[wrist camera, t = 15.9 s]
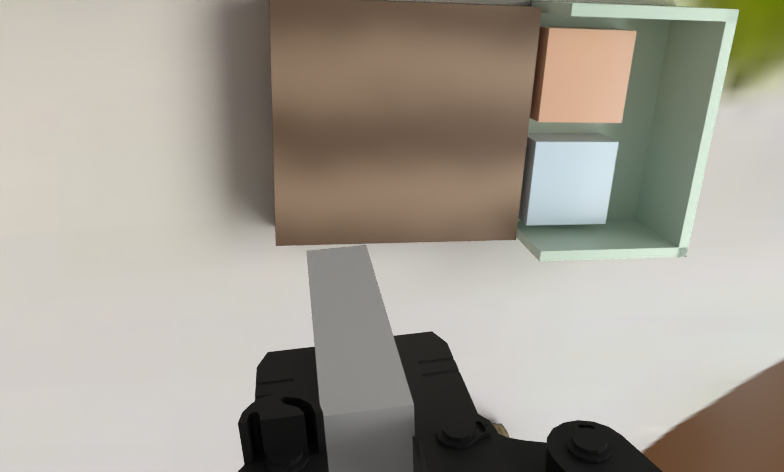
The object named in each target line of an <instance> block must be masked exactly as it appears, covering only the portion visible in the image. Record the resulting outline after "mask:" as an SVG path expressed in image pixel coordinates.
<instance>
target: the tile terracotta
mask: <svg viewBox="0 0 784 472" xmlns="http://www.w3.org/2000/svg"><path fill="white" fill-rule="evenodd" d="M636 33H637V31H634V30H626V29H618V28H596V27H567V26H540V30H539V39H538V48H537V57H536V66H535V75H534V83H533V92H532V101H531V110H530V118H531V119H533V120H535V121H537V122H574V123H622V118H623V112H624V106H625V100H626V94H627V88H628V82H629V76H630V70H631V64H632V58H633V51H634V45H635V39H636Z"/></svg>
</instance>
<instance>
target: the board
mask: <svg viewBox="0 0 784 472" xmlns="http://www.w3.org/2000/svg"><path fill="white" fill-rule="evenodd" d="M269 10H270V47H271V84H272V121H273V158H274V195H275V232H276V246H286V245H326V244H366V243H406V242H446V241H486V240H516V234H517V225H518V216H519V207H520V198H521V189H522V181H523V172H524V163H525V154H526V145H527V136H528V128H529V119H530V110H531V101H532V92H533V83H534V75H535V66H536V57H537V48H538V39H539V30H540V22H541V13H542V7H531V6H516V5H490V4H463V3H437V2H410V1H384V0H269Z"/></svg>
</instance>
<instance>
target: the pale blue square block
mask: <svg viewBox="0 0 784 472" xmlns="http://www.w3.org/2000/svg"><path fill="white" fill-rule="evenodd" d="M618 144H619V142H618V141H616V140H613V139H611V138H609V137H607V136H605V135H602V134H600V133H528V136H527V145H526V154H525V163H524V172H523V181H522V189H521V198H520V207H519V216H518V218H519V219H520V220H521V221H522V222H523V223H524V224H525V225H576V224H605V223H606V217H607V211H608V205H609V199H610V193H611V187H612V181H613V175H614V169H615V163H616V156H617V150H618Z"/></svg>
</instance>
